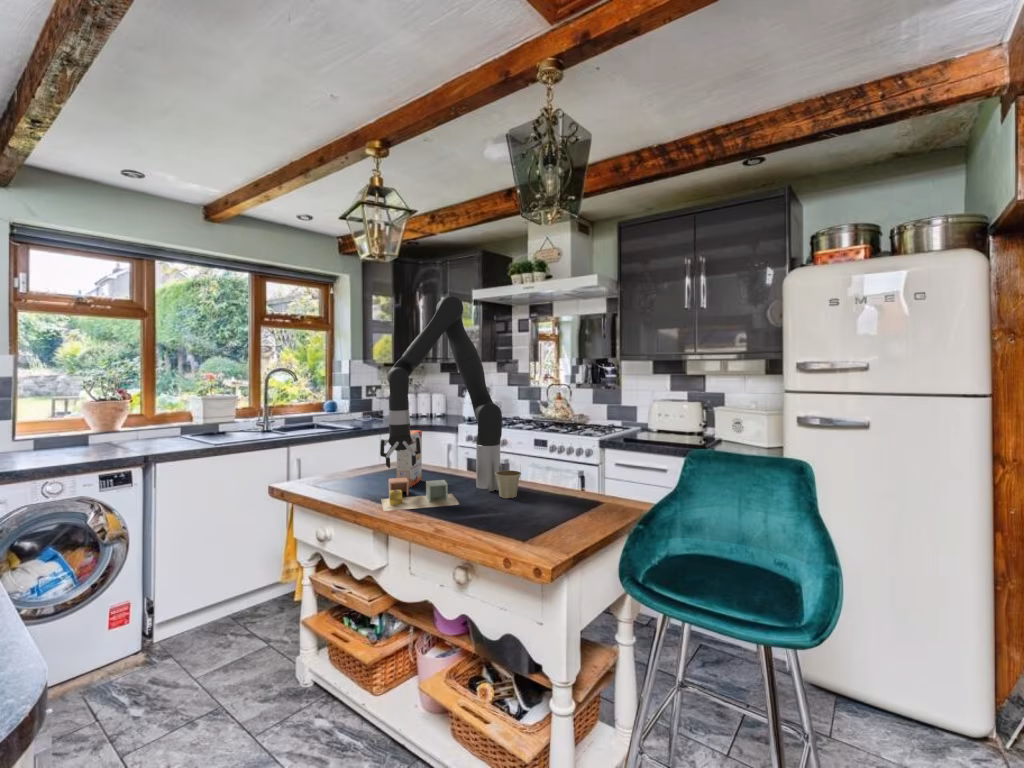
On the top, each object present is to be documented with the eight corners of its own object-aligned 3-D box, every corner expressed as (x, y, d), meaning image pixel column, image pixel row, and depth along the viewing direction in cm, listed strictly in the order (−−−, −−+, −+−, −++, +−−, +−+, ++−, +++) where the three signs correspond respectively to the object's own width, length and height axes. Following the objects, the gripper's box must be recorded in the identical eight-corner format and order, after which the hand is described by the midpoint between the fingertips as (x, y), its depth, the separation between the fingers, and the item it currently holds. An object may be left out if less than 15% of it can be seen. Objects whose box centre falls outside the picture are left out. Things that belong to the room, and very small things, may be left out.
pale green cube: (444, 496, 183) (444, 479, 183) (447, 501, 177) (447, 483, 177) (426, 497, 181) (426, 481, 181) (428, 502, 175) (428, 485, 175)
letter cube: (401, 501, 178) (400, 489, 177) (402, 504, 174) (402, 492, 174) (389, 502, 176) (388, 490, 176) (390, 505, 172) (389, 492, 172)
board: (451, 496, 188) (451, 493, 188) (460, 507, 173) (460, 504, 173) (380, 501, 180) (380, 499, 180) (383, 514, 166) (383, 511, 166)
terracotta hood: (406, 493, 191) (406, 477, 191) (408, 498, 185) (408, 481, 185) (388, 494, 189) (388, 478, 189) (390, 499, 183) (389, 482, 183)
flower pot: (522, 493, 192) (522, 470, 191) (520, 500, 182) (520, 476, 182) (497, 492, 192) (497, 469, 192) (493, 499, 183) (493, 475, 183)
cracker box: (410, 489, 198) (410, 434, 197) (395, 488, 199) (395, 434, 198) (422, 480, 212) (422, 429, 211) (408, 480, 213) (408, 429, 212)
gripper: (417, 420, 193) (419, 463, 194) (378, 422, 189) (380, 466, 189) (420, 422, 186) (422, 467, 187) (379, 424, 181) (381, 470, 182)
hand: (401, 466), depth 188 cm, fingers open, 8 cm apart
